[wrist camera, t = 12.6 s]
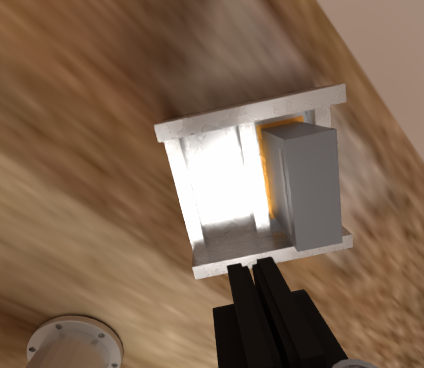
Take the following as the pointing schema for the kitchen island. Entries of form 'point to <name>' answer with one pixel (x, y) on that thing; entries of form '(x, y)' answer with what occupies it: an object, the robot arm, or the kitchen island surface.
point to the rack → (238, 178)
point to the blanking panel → (304, 183)
